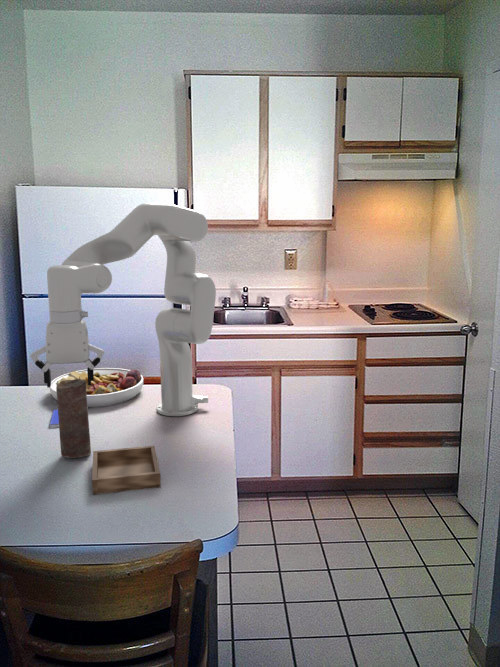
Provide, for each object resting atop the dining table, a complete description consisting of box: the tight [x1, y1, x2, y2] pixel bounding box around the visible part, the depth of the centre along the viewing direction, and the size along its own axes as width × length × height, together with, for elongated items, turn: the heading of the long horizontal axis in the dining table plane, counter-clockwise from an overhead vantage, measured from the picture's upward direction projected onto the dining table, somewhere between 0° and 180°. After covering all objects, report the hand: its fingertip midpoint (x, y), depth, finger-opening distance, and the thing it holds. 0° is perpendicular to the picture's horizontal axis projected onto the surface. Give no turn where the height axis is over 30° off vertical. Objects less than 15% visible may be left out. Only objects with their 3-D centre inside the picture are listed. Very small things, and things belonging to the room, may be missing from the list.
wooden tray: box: [91, 445, 161, 495], centre depth 148 cm, size 15×16×4 cm
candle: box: [56, 379, 92, 459], centre depth 157 cm, size 8×7×20 cm
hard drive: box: [49, 409, 59, 429], centre depth 185 cm, size 2×8×12 cm
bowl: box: [49, 367, 144, 408], centre depth 206 cm, size 30×30×8 cm
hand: (69, 384), depth 154 cm, fingers open, 9 cm apart
